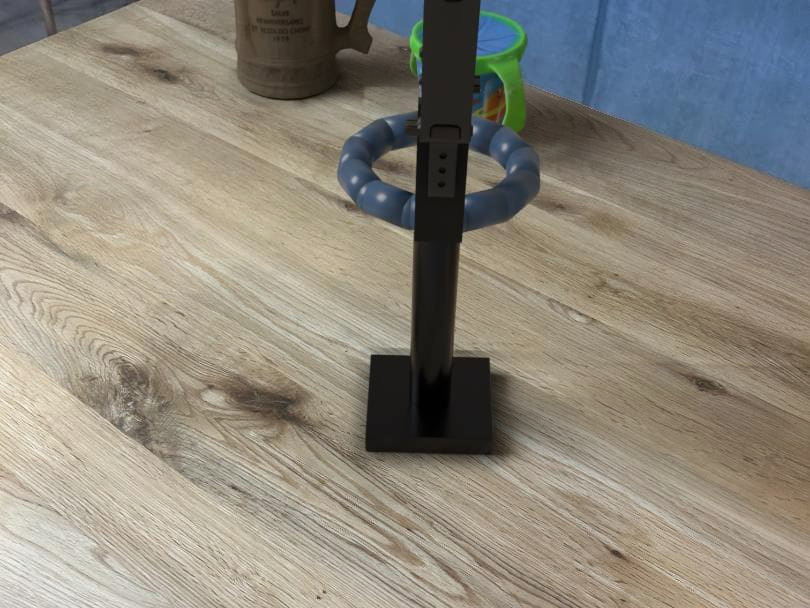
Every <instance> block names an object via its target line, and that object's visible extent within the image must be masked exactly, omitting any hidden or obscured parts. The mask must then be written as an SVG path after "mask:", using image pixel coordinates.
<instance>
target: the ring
mask: <svg viewBox="0 0 810 608" xmlns="http://www.w3.org/2000/svg"><path fill="white" fill-rule="evenodd" d="M406 119H418V110H414V111H408V112H405V113H404V112H403V113H399V114H394V115H390V116H384V117H379V118H377V119H375V120H374V121H372V122H370V123H369V124H367V125H366V126H365V127H363V128H361V129H360V130H358V131H357V132H355V133H354V134H353V135H351V136H349V137H348V138H347V139H346V140H345V141H344V143H343V144H342V147H341V153H340V157H339V161H338V165H337V169H336V179H337V182H338V184H339V186H340V187H341V189H342V190H343V191H344V192H345V193H346V194H347V196H348V197H349V199H351V200H352V202H354V204H355V205H356V206H357V208H358V209H359V210H360V211H361V212H362V213H364V214H365V215H368V216H371V217H373V218H376V219H378V220H381V221H383V222H386V223H388V224H391V225H393V226H396V227H398V228H401V229H403V230H406V231H414V218H415V192H412V191H409V190H407V189H404V188H401V187H399V186H396V185H393V184H390V183H388V182H386V181H383V180H382V179H381V178H380V177H379V175H377V173H376V172H375V170H373V167H374V163H376V162H377V161H378V160H380V159H382V157H384V156H385V155H387V154H388V153H390V152H393V151H398V150H403V149H407V148H412V147H417V137H412V136H405V127H406ZM471 124H472V126H473V137H471V142H469V150H470V151H472V152H475V153H479V154H481V155H484V156H486V157H489V158H492V159H493V160H495V161H496V163H497V164H498V165H499V166H500V167H502V169H503V170H504V171H505V178H503V179H502V180H501V181H499V182H498V183H496V185H494V186H493V187H492V188H488V189H483V190H478V191H475V192H470V193H465V207H464V221H463V234H464V233H468V232H472V231H473V232H474V231H476V230H480V229H484V228H489V227H492V226H497V225H501V224H504V223H507V222H509V221H510V220H512V219H513V218H514V217H515V216H516V215H517V214H518V213H520V212H521V211H522V210H524V209H525V208H526V207H527V206H528V205H529V204H531V202H533V201H534V200H535V199H536V197H537V196H538V194H539V193H540V190H541V167H540V166H541V160H540V156H539V154H538V152H537V151H536V149H535V148H533V146H531V145H530V144H529V143H528V142H527V141H526V140H525V139H523V138H522V137H521V136H520V135H519V134H518V133H516V132H515V131H513V130H512V129H511V128H510V127H508V126H505V125H502V124H499V123H496V122H493V121H490V120H488V119H485V118H482V117H479V116H476V115H473V114H472V118H471Z"/></svg>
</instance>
